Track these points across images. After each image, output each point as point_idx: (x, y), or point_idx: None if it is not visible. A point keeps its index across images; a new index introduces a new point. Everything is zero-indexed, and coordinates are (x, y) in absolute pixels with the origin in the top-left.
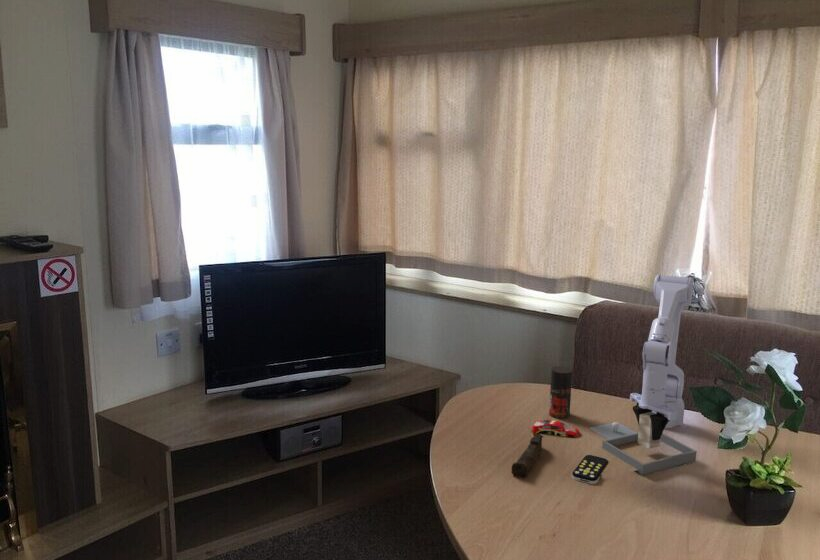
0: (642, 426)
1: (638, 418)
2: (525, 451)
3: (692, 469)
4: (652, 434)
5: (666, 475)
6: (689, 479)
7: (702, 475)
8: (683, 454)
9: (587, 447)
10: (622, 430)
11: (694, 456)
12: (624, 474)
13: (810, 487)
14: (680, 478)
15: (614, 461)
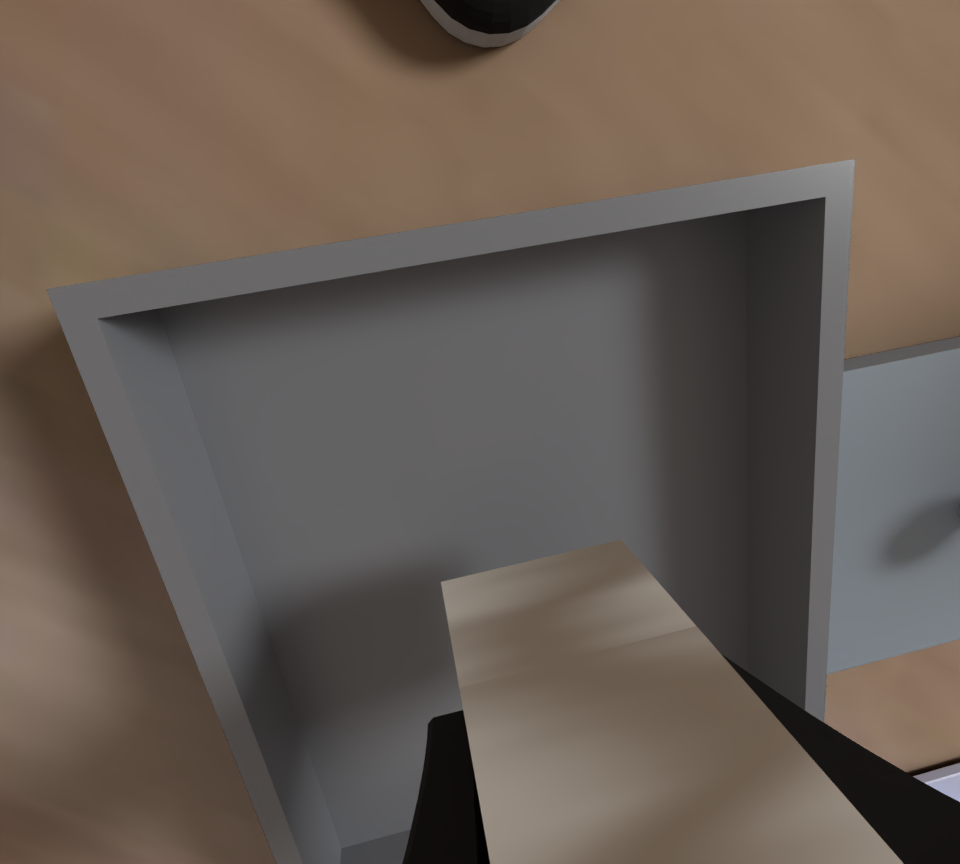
0: (693, 755)
1: (934, 842)
2: None
3: (209, 784)
4: (458, 778)
5: (121, 537)
6: (18, 689)
7: (89, 810)
8: (273, 847)
9: (885, 75)
10: (956, 575)
11: None
12: (201, 100)
13: None
14: (45, 627)
15: (520, 182)
